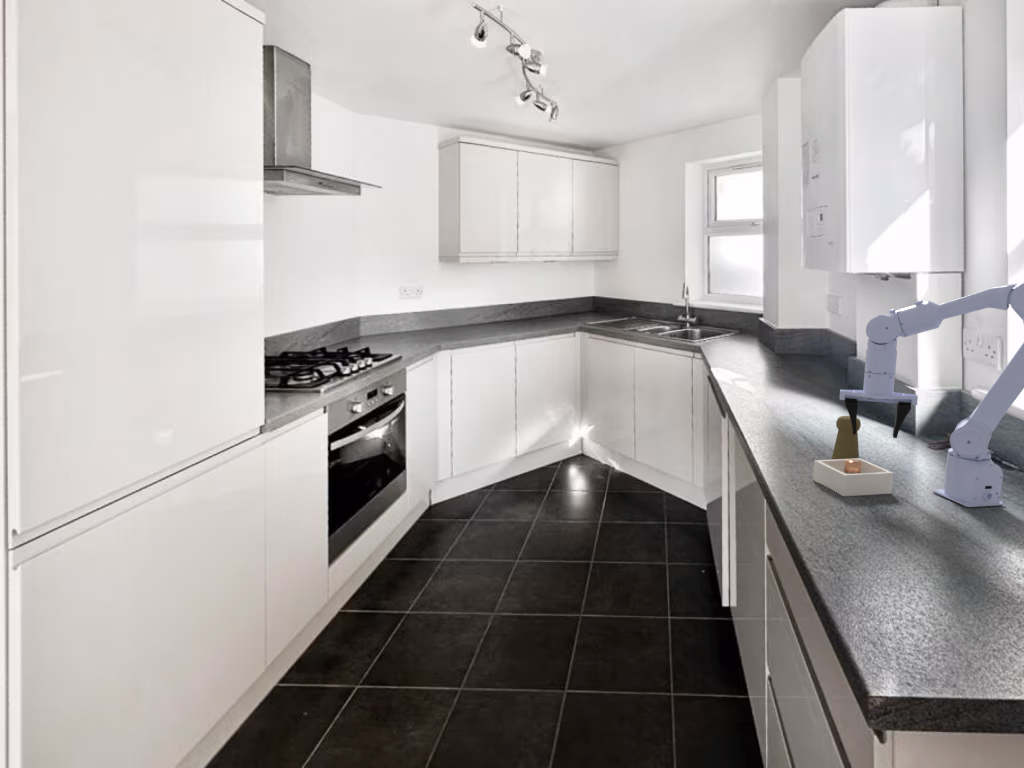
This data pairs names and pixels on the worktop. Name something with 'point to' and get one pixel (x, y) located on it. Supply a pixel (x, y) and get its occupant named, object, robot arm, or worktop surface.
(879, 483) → the white shallow open box
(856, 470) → the copper knob lid
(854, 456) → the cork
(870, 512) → the worktop surface
